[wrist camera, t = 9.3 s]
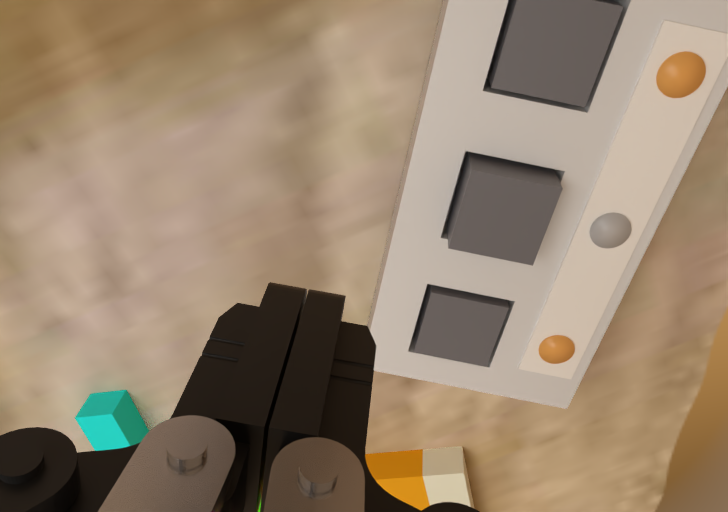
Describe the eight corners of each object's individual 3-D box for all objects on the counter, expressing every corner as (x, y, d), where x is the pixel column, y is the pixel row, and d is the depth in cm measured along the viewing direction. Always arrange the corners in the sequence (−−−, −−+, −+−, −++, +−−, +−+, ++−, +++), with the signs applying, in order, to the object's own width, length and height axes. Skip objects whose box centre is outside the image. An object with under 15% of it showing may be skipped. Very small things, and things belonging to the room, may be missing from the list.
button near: (513, -24, 28) (521, -15, 26) (606, -4, 28) (623, 6, 26) (486, 72, 30) (491, 87, 28) (572, 89, 30) (585, 107, 28)
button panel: (465, -94, 28) (471, -91, 24) (740, -36, 28) (787, -24, 25) (366, 328, 41) (360, 371, 37) (555, 365, 41) (568, 413, 38)
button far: (431, 265, 36) (431, 292, 34) (503, 280, 36) (508, 308, 34) (414, 323, 39) (413, 352, 36) (482, 337, 39) (486, 366, 36)
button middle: (468, 148, 31) (471, 169, 29) (552, 165, 31) (562, 188, 29) (446, 222, 34) (448, 248, 31) (525, 238, 34) (532, 265, 31)
